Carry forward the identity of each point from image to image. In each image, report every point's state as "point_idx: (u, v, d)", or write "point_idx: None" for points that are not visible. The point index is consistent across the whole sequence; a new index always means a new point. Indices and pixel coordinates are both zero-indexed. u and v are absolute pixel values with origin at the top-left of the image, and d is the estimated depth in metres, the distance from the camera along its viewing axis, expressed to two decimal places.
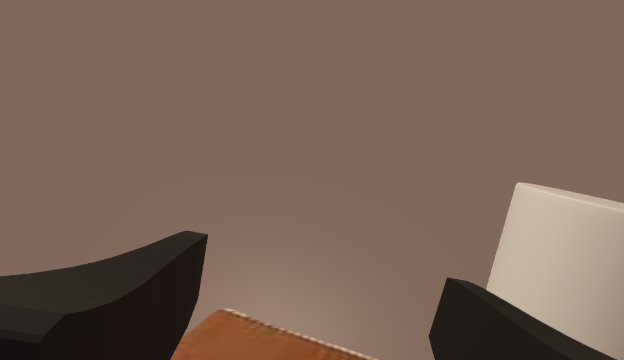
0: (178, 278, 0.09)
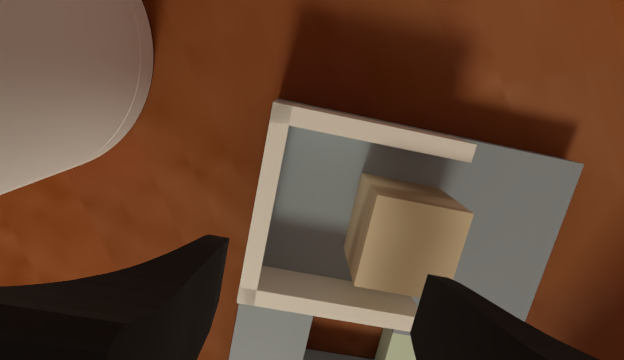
0: (205, 283, 0.09)
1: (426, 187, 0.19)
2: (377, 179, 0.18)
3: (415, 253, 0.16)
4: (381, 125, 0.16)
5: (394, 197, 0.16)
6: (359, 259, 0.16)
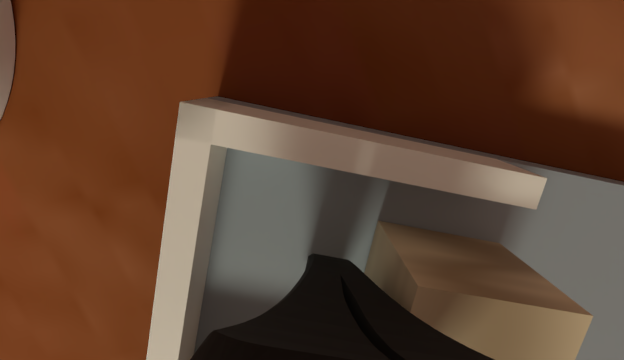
0: None
1: (482, 245, 0.12)
2: (406, 236, 0.11)
3: None
4: (378, 144, 0.09)
5: (448, 288, 0.08)
6: None
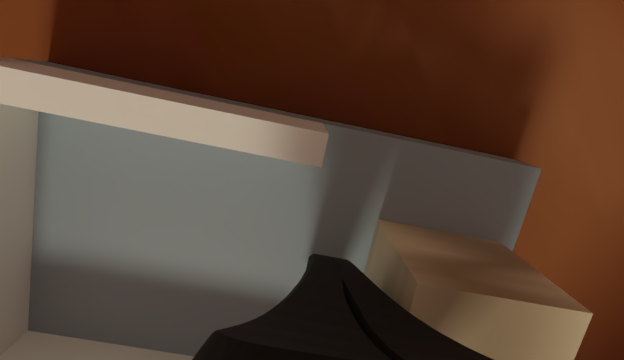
0: None
1: (483, 244, 0.12)
2: (406, 234, 0.11)
3: None
4: (145, 97, 0.09)
5: (448, 285, 0.08)
6: None
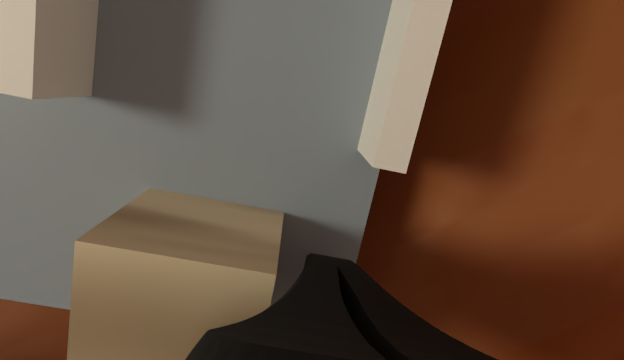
0: None
1: None
2: None
3: (160, 349, 0.08)
4: None
5: None
6: (136, 246, 0.08)
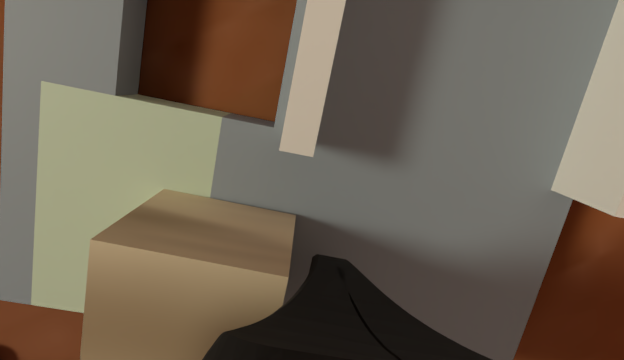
0: None
1: None
2: None
3: (172, 349, 0.08)
4: None
5: None
6: (150, 246, 0.08)
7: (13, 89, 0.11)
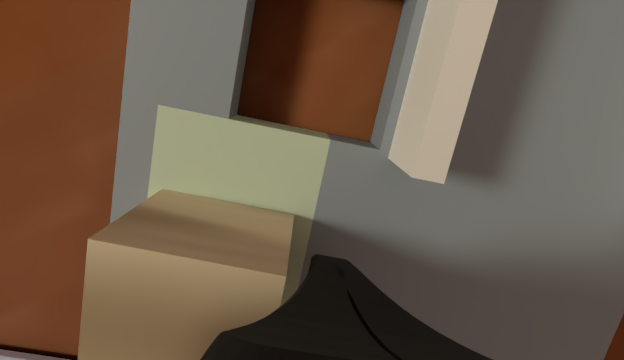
0: None
1: None
2: None
3: (170, 348, 0.08)
4: None
5: (279, 304, 0.08)
6: (148, 246, 0.08)
7: (130, 112, 0.11)
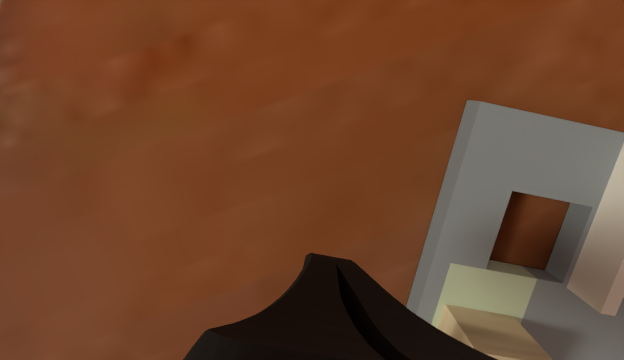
0: None
1: None
2: None
3: None
4: None
5: None
6: (498, 353, 0.18)
7: (435, 267, 0.21)
